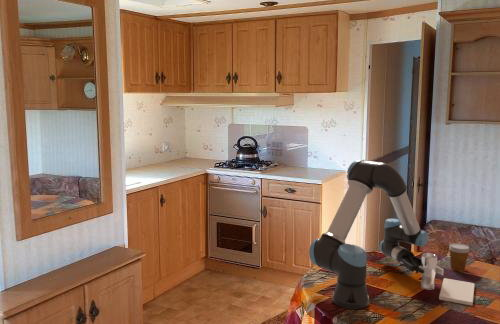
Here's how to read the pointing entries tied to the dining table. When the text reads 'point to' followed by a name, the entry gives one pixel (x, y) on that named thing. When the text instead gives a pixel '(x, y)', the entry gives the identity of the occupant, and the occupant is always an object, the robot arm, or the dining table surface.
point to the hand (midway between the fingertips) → (436, 273)
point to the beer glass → (430, 264)
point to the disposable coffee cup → (458, 256)
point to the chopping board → (457, 291)
